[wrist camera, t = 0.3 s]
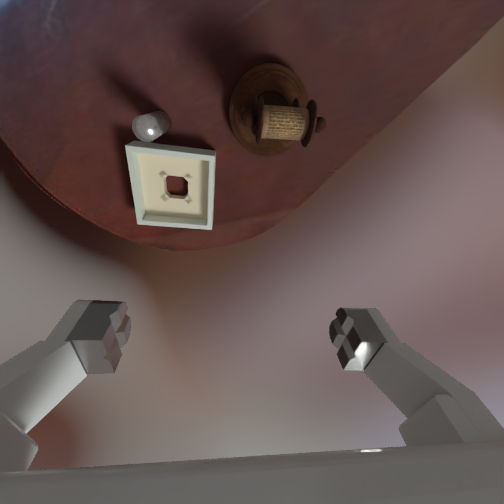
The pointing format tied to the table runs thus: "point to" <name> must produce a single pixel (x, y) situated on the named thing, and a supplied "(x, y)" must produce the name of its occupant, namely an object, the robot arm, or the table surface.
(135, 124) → the metal peg
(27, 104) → the table surface
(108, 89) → the table surface
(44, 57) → the table surface
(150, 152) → the open box
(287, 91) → the scroll
